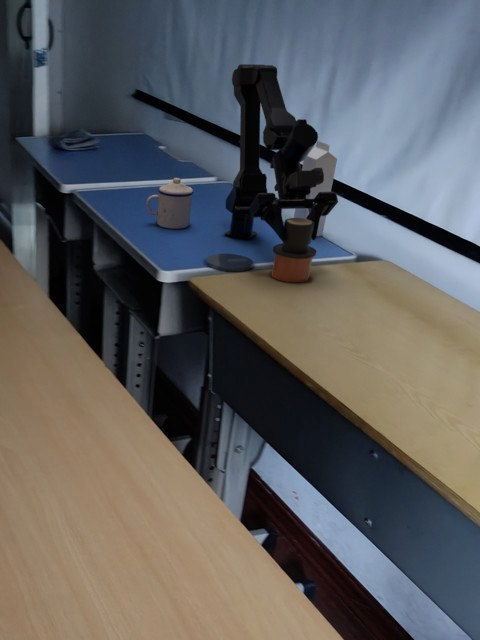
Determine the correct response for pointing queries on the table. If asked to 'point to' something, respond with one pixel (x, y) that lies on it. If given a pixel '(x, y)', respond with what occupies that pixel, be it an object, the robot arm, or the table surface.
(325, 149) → the milk
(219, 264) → the saucer
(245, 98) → the robot arm
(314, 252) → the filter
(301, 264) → the cup
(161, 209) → the teacup with lid
